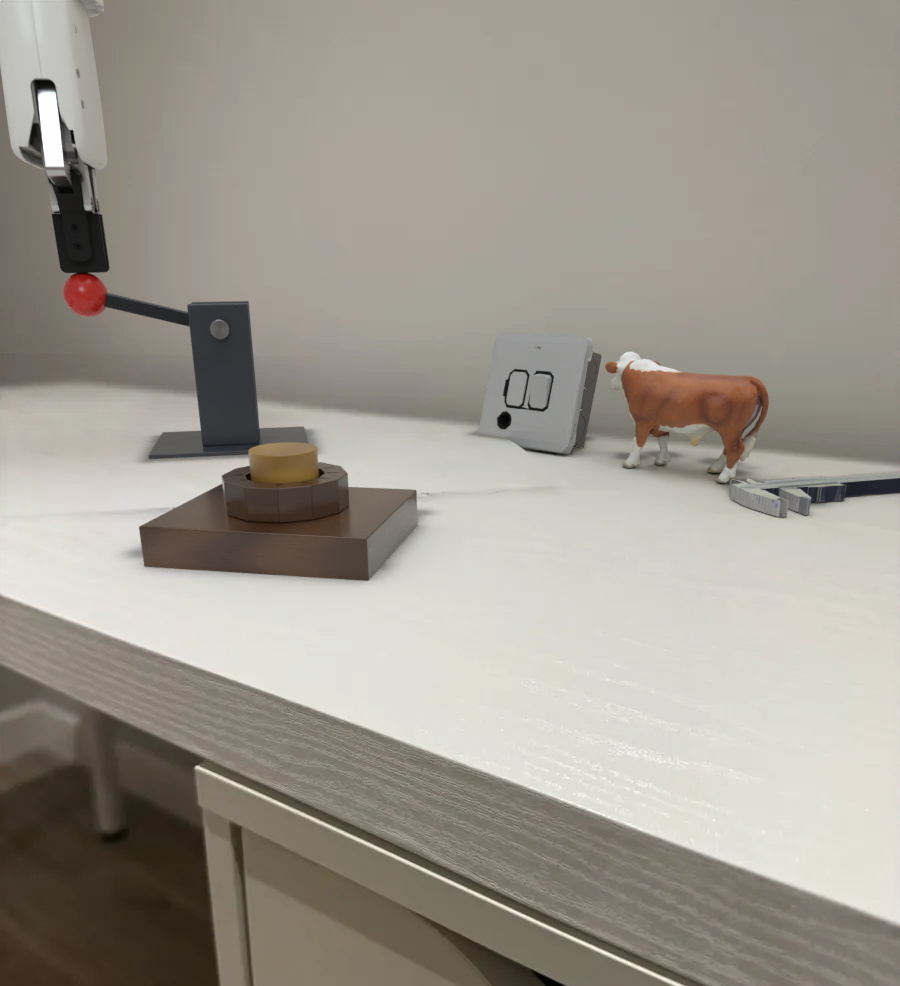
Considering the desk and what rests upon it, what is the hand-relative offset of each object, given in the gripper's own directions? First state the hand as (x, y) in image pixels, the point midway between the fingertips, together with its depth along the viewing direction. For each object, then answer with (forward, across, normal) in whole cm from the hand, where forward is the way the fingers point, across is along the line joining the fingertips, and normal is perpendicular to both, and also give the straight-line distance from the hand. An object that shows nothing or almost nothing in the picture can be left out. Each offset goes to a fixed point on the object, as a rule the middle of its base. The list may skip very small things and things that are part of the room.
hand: (85, 272), depth 66 cm
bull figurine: (+14, +14, +42) cm, 46 cm away
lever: (+4, 0, +4) cm, 6 cm away
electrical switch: (+14, +2, +35) cm, 38 cm away
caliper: (+14, +26, +52) cm, 60 cm away
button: (+11, +27, +13) cm, 32 cm away
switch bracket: (+14, 0, +9) cm, 17 cm away
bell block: (+14, +27, +13) cm, 33 cm away
